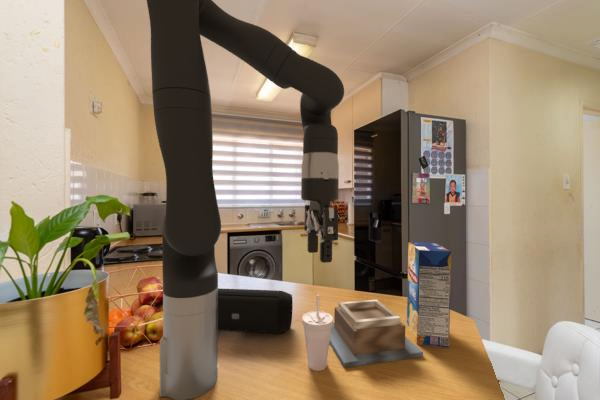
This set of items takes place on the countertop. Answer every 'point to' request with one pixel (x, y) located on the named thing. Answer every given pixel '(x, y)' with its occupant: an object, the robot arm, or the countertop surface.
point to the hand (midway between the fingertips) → (318, 256)
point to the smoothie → (317, 337)
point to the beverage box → (429, 293)
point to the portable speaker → (254, 310)
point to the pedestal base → (369, 334)
